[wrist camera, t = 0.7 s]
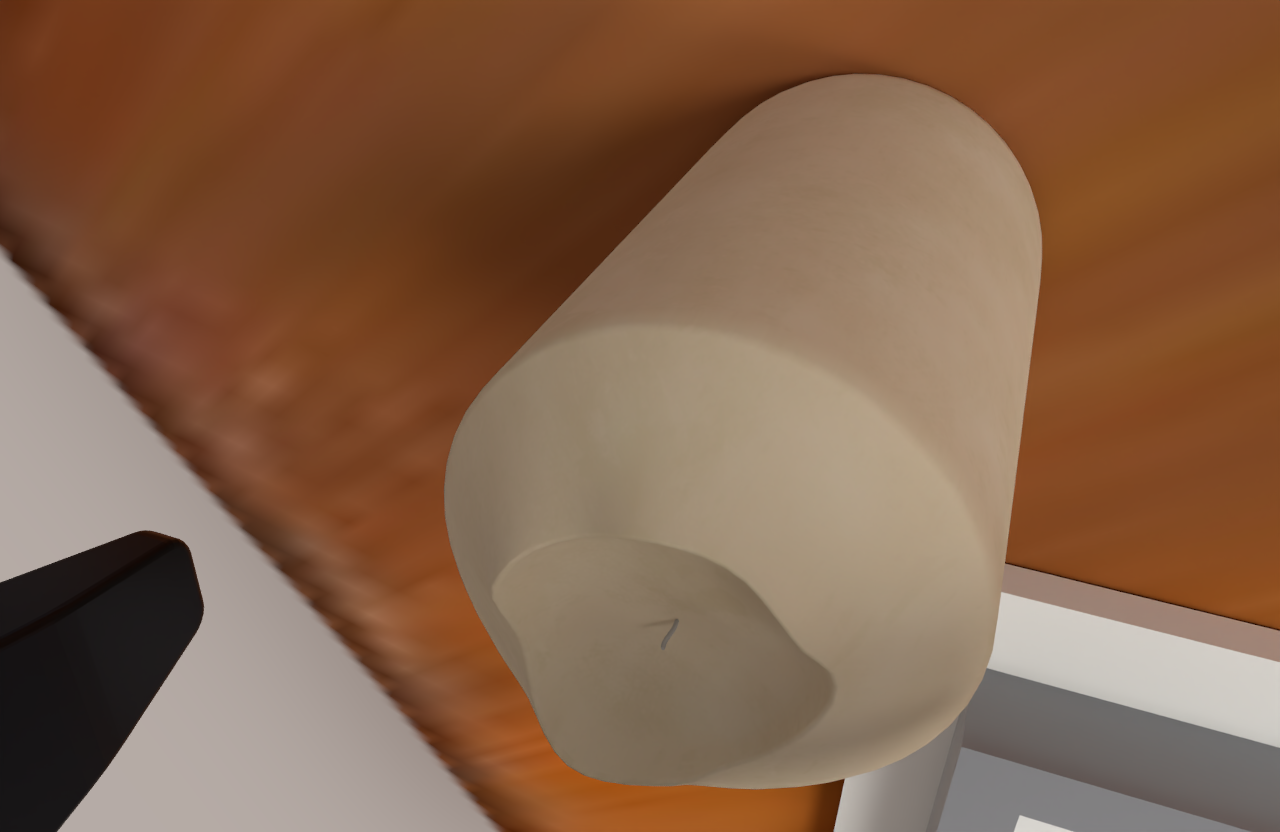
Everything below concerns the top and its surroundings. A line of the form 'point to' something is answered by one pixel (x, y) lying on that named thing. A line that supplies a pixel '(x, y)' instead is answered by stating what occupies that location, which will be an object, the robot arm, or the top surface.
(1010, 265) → the candle
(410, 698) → the top surface
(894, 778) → the candle tray
